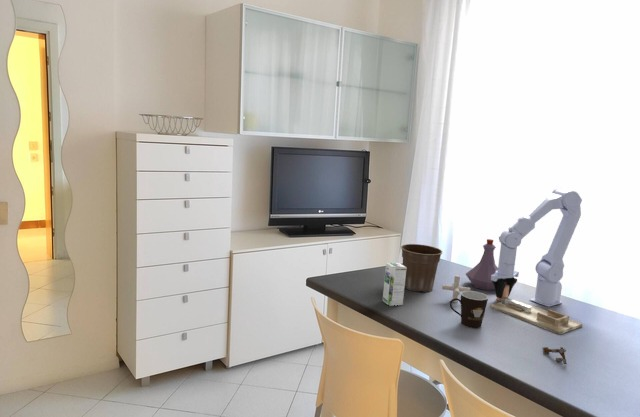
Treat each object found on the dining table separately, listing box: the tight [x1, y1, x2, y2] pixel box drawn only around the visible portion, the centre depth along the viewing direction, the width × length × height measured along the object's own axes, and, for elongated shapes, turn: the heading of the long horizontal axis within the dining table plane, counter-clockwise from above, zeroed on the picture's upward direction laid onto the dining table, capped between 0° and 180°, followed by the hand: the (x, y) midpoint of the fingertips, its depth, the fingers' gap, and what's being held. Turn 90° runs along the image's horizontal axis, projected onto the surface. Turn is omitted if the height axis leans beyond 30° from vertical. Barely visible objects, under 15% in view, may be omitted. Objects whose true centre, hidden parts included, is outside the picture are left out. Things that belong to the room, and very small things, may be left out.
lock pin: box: [502, 297, 532, 313], centre depth 171 cm, size 2×11×2 cm, turn 34°
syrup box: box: [382, 261, 406, 307], centre depth 170 cm, size 6×6×14 cm
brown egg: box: [496, 284, 509, 302], centre depth 181 cm, size 4×4×6 cm
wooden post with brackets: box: [542, 346, 567, 365], centre depth 134 cm, size 2×8×4 cm, turn 15°
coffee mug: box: [449, 290, 489, 329], centre depth 155 cm, size 12×9×10 cm
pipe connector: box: [441, 274, 471, 303], centre depth 176 cm, size 10×10×10 cm
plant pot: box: [400, 243, 443, 293], centre depth 189 cm, size 16×16×16 cm
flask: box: [465, 238, 498, 291], centre depth 196 cm, size 16×16×20 cm
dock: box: [490, 298, 583, 335], centre depth 166 cm, size 14×26×4 cm, turn 34°
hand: (502, 296), depth 181 cm, fingers closed on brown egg, 4 cm apart
